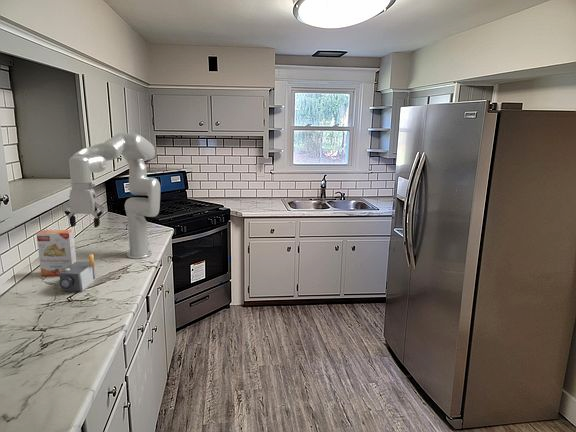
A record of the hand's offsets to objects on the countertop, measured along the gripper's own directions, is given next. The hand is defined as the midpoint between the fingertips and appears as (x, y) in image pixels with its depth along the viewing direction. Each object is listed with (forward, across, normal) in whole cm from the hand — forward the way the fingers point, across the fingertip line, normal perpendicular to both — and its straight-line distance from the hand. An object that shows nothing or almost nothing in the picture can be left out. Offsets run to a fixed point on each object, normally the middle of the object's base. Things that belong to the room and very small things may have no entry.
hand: (85, 226), depth 171 cm
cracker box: (+28, +20, -14) cm, 37 cm away
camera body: (+28, +6, -1) cm, 28 cm away
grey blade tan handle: (+27, +1, 0) cm, 27 cm away
